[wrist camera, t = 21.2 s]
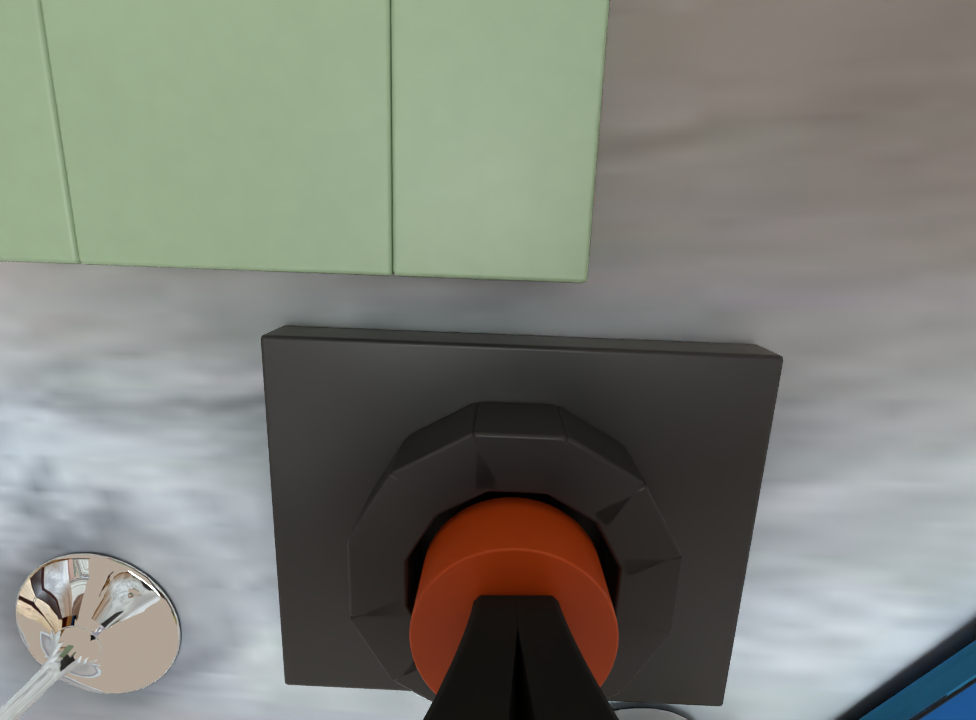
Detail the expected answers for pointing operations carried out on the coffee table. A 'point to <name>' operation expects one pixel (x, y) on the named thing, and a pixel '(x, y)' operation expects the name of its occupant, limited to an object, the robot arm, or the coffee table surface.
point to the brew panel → (513, 486)
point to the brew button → (510, 580)
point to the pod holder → (303, 135)
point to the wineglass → (93, 628)
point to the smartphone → (936, 693)
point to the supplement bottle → (646, 714)
